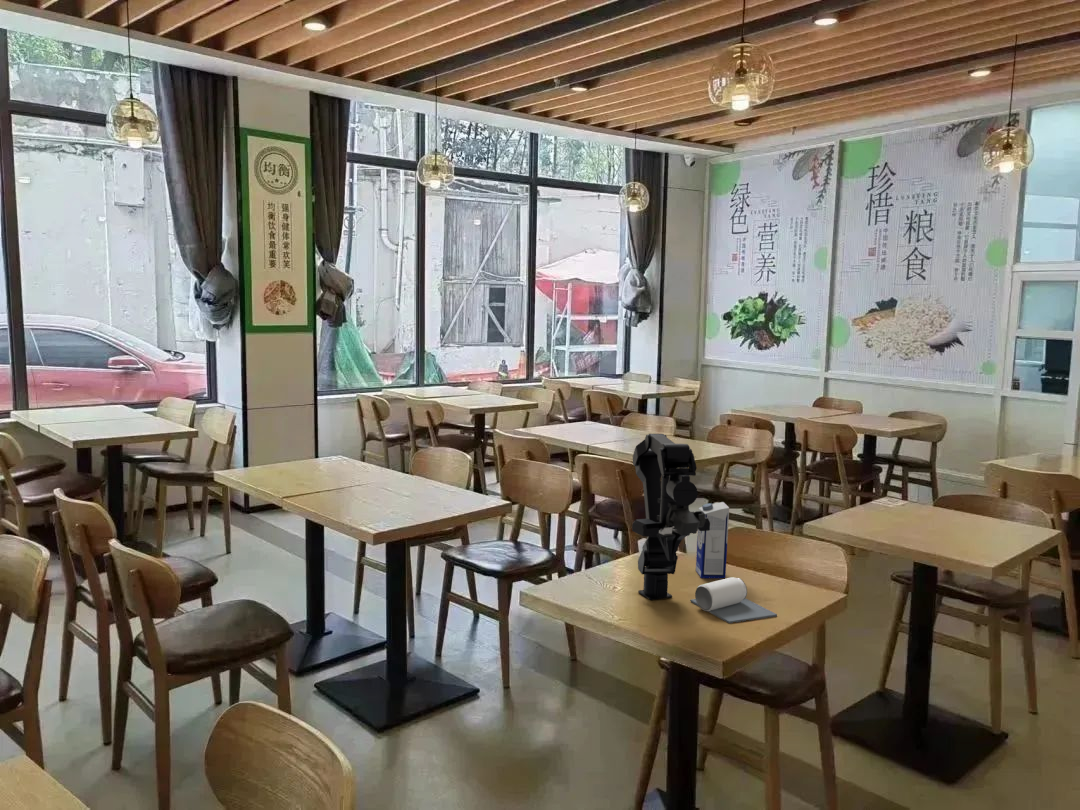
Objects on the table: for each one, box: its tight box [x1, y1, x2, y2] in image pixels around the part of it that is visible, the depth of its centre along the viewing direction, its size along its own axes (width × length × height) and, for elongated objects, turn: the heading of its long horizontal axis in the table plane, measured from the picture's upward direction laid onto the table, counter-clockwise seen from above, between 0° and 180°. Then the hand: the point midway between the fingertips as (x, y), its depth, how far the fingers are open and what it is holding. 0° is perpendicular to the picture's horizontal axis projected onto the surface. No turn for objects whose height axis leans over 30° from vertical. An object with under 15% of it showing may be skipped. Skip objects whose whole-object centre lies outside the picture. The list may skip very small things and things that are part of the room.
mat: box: [689, 597, 778, 624], centre depth 213 cm, size 16×14×1 cm
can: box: [694, 576, 748, 612], centre depth 213 cm, size 6×6×12 cm
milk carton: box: [695, 501, 730, 579], centre depth 239 cm, size 7×7×20 cm
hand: (670, 560), depth 207 cm, fingers closed
